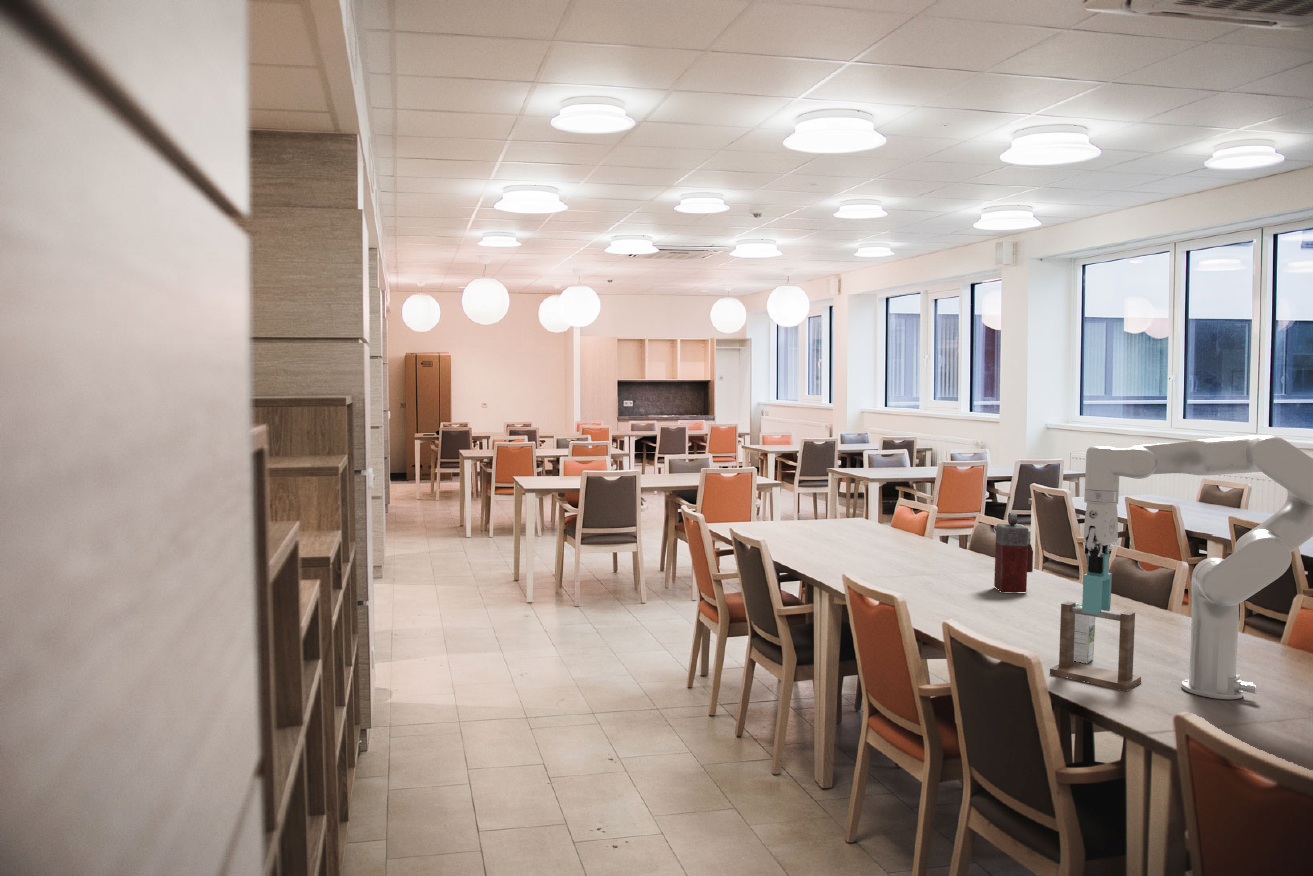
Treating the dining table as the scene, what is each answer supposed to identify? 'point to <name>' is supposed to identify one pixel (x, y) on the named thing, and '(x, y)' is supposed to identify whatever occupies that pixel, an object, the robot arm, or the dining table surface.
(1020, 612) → the dining table surface
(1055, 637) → the dining table surface
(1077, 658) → the syrup box
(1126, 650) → the hanger rack
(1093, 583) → the teal block figure
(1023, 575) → the dark red lidded canister
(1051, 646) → the dining table surface
